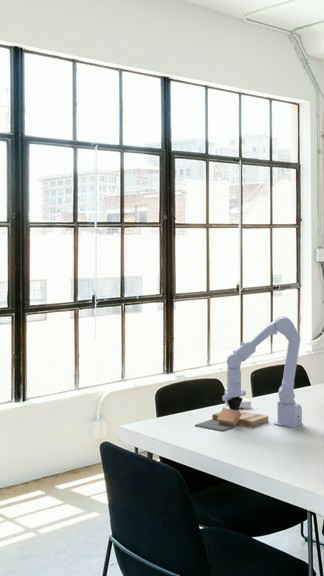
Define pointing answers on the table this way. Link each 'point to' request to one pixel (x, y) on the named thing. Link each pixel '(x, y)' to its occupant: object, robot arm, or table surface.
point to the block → (229, 416)
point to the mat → (215, 425)
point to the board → (247, 419)
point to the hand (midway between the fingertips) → (234, 415)
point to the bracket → (243, 402)
